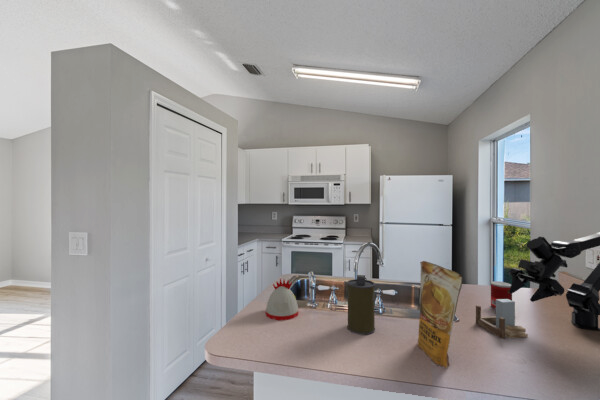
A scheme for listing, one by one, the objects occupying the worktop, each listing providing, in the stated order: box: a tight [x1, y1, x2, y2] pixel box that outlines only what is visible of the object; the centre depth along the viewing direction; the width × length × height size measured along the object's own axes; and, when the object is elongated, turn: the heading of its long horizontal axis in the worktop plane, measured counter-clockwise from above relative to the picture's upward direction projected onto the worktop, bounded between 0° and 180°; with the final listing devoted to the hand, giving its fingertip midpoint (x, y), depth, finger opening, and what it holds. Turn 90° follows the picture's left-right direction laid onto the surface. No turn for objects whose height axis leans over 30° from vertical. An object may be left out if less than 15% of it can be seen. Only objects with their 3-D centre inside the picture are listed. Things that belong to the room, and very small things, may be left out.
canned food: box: [490, 280, 513, 310], centre depth 131 cm, size 8×8×11 cm
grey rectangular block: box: [495, 299, 516, 329], centre depth 109 cm, size 5×3×11 cm, turn 96°
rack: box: [475, 305, 506, 340], centre depth 109 cm, size 12×13×7 cm
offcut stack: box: [505, 325, 529, 339], centre depth 104 cm, size 7×4×3 cm, turn 96°
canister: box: [346, 274, 376, 336], centre depth 110 cm, size 11×10×20 cm
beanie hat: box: [265, 278, 299, 321], centre depth 124 cm, size 14×14×15 cm
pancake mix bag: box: [417, 260, 463, 370], centre depth 92 cm, size 7×19×28 cm, turn 5°
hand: (520, 296), depth 110 cm, fingers open, 9 cm apart
